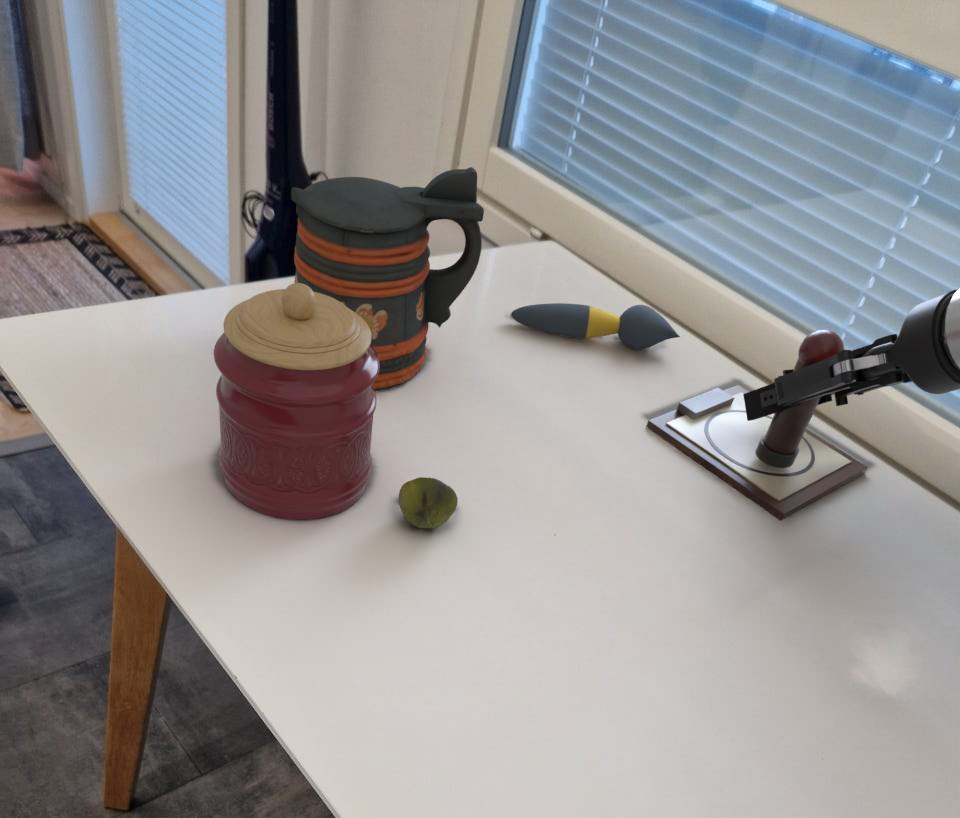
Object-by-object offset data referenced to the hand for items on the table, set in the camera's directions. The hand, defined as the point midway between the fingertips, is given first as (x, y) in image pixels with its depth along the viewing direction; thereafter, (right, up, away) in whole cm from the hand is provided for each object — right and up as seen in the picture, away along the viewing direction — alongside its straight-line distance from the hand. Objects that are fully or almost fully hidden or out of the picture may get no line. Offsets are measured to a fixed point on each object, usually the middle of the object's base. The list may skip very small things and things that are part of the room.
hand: (764, 404), depth 91 cm
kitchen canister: (-45, -10, -11) cm, 48 cm away
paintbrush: (-16, +12, +16) cm, 25 cm away
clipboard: (0, -4, +4) cm, 6 cm away
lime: (-34, -14, -13) cm, 39 cm away
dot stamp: (+1, -5, 0) cm, 5 cm away
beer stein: (-40, +6, +5) cm, 41 cm away
